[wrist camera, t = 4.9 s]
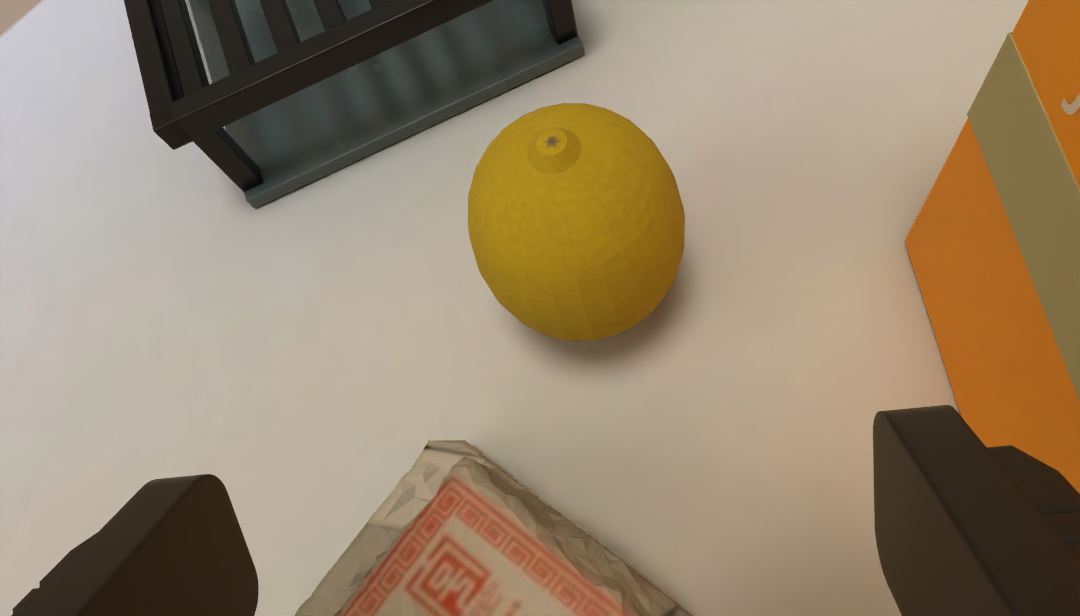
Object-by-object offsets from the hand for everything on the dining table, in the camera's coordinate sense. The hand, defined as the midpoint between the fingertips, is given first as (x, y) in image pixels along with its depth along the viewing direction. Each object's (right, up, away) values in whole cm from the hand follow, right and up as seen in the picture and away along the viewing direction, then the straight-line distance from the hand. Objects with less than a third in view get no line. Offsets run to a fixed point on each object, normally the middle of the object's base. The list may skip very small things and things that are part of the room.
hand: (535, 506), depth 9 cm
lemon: (+2, +3, +15) cm, 15 cm away
